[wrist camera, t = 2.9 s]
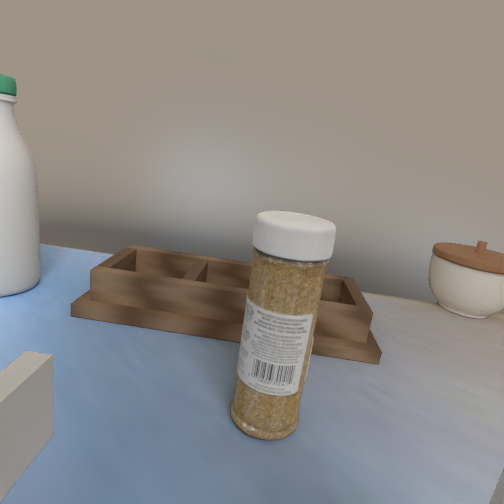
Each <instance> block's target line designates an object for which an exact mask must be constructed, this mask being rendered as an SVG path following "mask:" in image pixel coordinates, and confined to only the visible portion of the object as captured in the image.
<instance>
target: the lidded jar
mask: <svg viewBox="0 0 504 504" xmlns="http://www.w3.org/2000/svg"><path fill="white" fill-rule="evenodd" d="M486 246H487V242H484V241H478V244H477V247H474V246H469V245H462V244H455V243H436V244H435V245H434V247H433V251H432V252H433V254H432V257H431V262H430V267H429V285H430V287H431V290H432V292H433V294H434V295H435V297H436V298H437V300H438V301H437V303H438V304H439V305H440V306H441V307H443V308H444V309H446V310H448V311H450V312H453V313H455V314H458V315H461V316H465V317H469V318H475V319H485V318H487V317H488V315H491V314H494V313H496V312H499V311H500V310H502V309H504V254H502V253H499V252H495V251H491V250H487V249H486Z"/></svg>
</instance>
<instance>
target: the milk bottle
mask: <svg viewBox="0 0 504 504" xmlns="http://www.w3.org/2000/svg"><path fill="white" fill-rule="evenodd" d="M14 96H16V82H15V79H13V78H11V77H9V76H5V75H1V74H0V297H1V296H8V295H13V294H17V293H21V292H24V291H27V290H29V289H31V288H33V287H34V286H36V284H37V283H38V281H39V279H40V240H39V207H38V186H37V174H36V167H35V163H34V160H33V157H32V155H31V152H30V150H29V148H28V146H27V144H26V142H25V140H24V138H23V136H22V134H21V132H20V129H19V127H18V124H17V121H16V117H15V114H14V104H15V103H16V98H15V97H14Z"/></svg>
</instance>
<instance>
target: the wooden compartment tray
mask: <svg viewBox="0 0 504 504" xmlns="http://www.w3.org/2000/svg"><path fill="white" fill-rule="evenodd" d="M252 264H253V263H248V262H242V261H235V260H228V259H222V258H215V257H208V256H201V255H195V254H188V253H181V252H175V251H168V250H162V249H154V248H148V247H142V246H134V245H129V246H128V247H126V248H125V249H123V250H121V251H120V252H118V253H117V254H115V255H113V256H112V257H110V258H109V259H107V260H105V261H104V262H102V263H101V264H99V265H98V266H96V267H94V268H93V269H91V270H90V290H89V291H88V292H86V293H85V294H84V295H82V296H81V297H80V298H78V299H77V300H76V301H74V302H73V303H71V316H74V317H80V318H87V319H93V320H99V321H106V322H112V323H119V324H125V325H131V326H138V327H144V328H151V329H157V330H163V331H170V332H176V333H182V334H189V335H195V336H202V337H208V338H214V339H221V340H227V341H233V342H240V343H241V336H242V329H243V322H244V315H245V307H246V299H247V293H248V291H249V284H250V278H251V271H252ZM372 316H373V312H372V310H371V309H370V307H369V305H368V304H367V302H366V300H365V299H364V297H363V295H362V293H361V292H360V290H359V289H358V287H357V285H356V283H355V282H354V280H353V279H352V278H348V277H341V276H335V275H328V274H325V276H324V279H323V286H322V290H321V298H320V304H319V308H318V314H317V320H316V325H315V330H314V334H313V337H314V340H313V346H312V351H311V354H316V355H323V356H329V357H336V358H342V359H348V360H355V361H361V362H367V363H374V364H379V361H380V357H381V353H382V352H381V350H380V348H379V346H378V344H377V342H376V340H375V338H374V337H373V335H372V333H371V331H370V329H369V328H370V324H371V320H372Z"/></svg>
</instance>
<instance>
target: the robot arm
mask: <svg viewBox="0 0 504 504" xmlns="http://www.w3.org/2000/svg"><path fill="white" fill-rule="evenodd" d="M53 435H54V430H53V355H51V354H45V353H39V352H32V351H26V352H24V353H23V354H22V355H20V356H19V357H18V358H17V359H15V360H14V361H13V362H12V363H10V364H9V365H8V366H7V367H5V368H4V369H3V370H2V371H0V502H1V501H2V499H3V498H4V497H5V496H6V494H7V493H8V492H9V491H10V489H11V488H12V487H13V485H14V484H15V483H16V482H17V480H18V479H19V478H20V477H21V475H22V474H23V473H24V472H25V470H26V469H27V468H28V466H29V465H30V464H31V463H32V461H33V460H34V459H35V458H36V456H37V455H38V454H39V453H40V451H41V450H42V449H43V447H44V446H45V445H46V444H47V442H48V441H49V440H50V439H51V437H52V436H53ZM489 504H504V469H503V471H502V474H501V476H500V479H499V481H498V483H497V486H496V488H495V491H494V493H493V496H492V498H491V501H490V503H489Z"/></svg>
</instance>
